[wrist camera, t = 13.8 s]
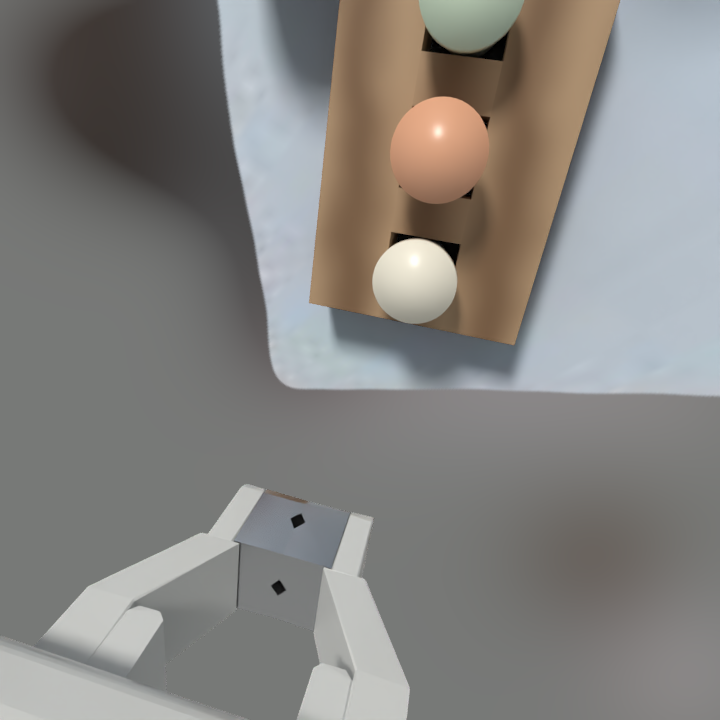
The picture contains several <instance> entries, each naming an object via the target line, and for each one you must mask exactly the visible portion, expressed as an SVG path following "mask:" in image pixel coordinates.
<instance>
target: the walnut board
mask: <svg viewBox="0 0 720 720" xmlns="http://www.w3.org/2000/svg"><path fill="white" fill-rule="evenodd" d="M619 3H620V0H524V3H523V6H522V8H521V11H520V13H519V15H518V17H517V19H516V21H515V23H514V24H513V26H512V27H511V28H510V30H509V31H508V35H507V39H506V44H505V48H504V52H503V57H502V61H497V60H489V59H481V58H474V57H466V56H458V55H450V54H442V53H434V52H430V50H431V44H432V36H431V35H430V33H429V32H428V30H427V28H426V26H425V24H424V21H423V18H422V15H421V11H420V7H419V0H340V2H339V12H338V22H337V32H336V42H335V51H334V61H333V71H332V81H331V91H330V101H329V111H328V121H327V131H326V141H325V151H324V161H323V170H322V180H321V190H320V200H319V210H318V220H317V230H316V240H315V250H314V260H313V270H312V280H311V289H310V299H309V303H312V304H317V305H322V306H327V307H331V308H336V309H341V310H346V311H351V312H356V313H360V314H365V315H370V316H375V317H380V318H385V319H389V320H394V321H398V320H396V319H394V318H392V317H391V316H390V315H388V314H387V313H386V312H385V311H384V310H383V309H382V308H381V307H380V305H379V303H378V302H377V300H376V298H375V295H374V292H373V285H372V279H373V273H374V269H375V266H376V264H377V262H378V260H379V259H380V258H381V256H382V255H383V254H384V253H385V252H386V251H387V250H388V249H389V248H390V247H391V246H393V245H394V244H396V243H397V239H398V234H399V233H401V234H406V235H412V236H417V237H423V238H428V239H434V240H440V241H445V242H451V243H456V244H459V248H458V252H457V257H456V261H455V267H456V271H457V288H456V293H455V296H454V299H453V301H452V303H451V304H450V306H449V307H448V308H447V310H446V311H445V312H444V313H443V314H442V315H440V316H439V317H437V318H435V319H433V320H431V321H429V322H425V323H420V324H413V325H418V326H423V327H428V328H433V329H438V330H442V331H447V332H452V333H457V334H462V335H467V336H471V337H476V338H481V339H486V340H491V341H496V342H500V343H505V344H510V345H515V342H516V338H517V335H518V332H519V329H520V325H521V322H522V319H523V315H524V312H525V309H526V306H527V302H528V299H529V296H530V293H531V289H532V286H533V283H534V280H535V276H536V273H537V270H538V267H539V263H540V260H541V257H542V254H543V250H544V247H545V244H546V241H547V237H548V234H549V231H550V227H551V224H552V221H553V218H554V214H555V211H556V208H557V205H558V201H559V198H560V195H561V192H562V188H563V185H564V182H565V179H566V175H567V172H568V169H569V166H570V162H571V159H572V156H573V153H574V149H575V146H576V143H577V140H578V136H579V133H580V130H581V126H582V123H583V120H584V117H585V113H586V110H587V107H588V104H589V100H590V97H591V94H592V91H593V87H594V84H595V81H596V78H597V74H598V71H599V68H600V65H601V61H602V58H603V55H604V52H605V48H606V45H607V42H608V38H609V35H610V32H611V29H612V25H613V22H614V19H615V16H616V12H617V9H618V6H619ZM434 97H452V98H456V99H459V100H462V101H464V102H465V103H467V104H469V105H470V106H471V107H472V108H474V109H475V111H476V112H477V113H478V114H479V115H480V117H481V118H482V120H483V122H484V123H487V126H486V129H487V132H488V137H489V156H488V161H487V164H486V167H485V170H484V172H483V174H482V176H481V177H480V179H479V181H478V182H477V183H476V185H475V186H474V187H473V188H472V192H471V195H467V194H465V195H463V196H462V197H460V198H458V199H456V200H454V201H451V202H448V203H442V204H430V203H425V202H422V201H419V200H417V199H415V198H413V197H412V196H410V195H409V194H408V193H406V192H405V191H404V190H403V189H402V187H401V186H400V185H399V183H398V181H397V180H396V178H395V176H394V173H393V170H392V166H391V160H390V148H391V142H392V137H393V134H394V132H395V129H396V127H397V125H398V124H399V122H400V120H401V119H402V118H403V116H404V115H405V114H406V113H407V112H408V111H409V110H410V109H411V108H413V107H414V106H415V105H417V104H418V103H420V102H422V101H424V100H427V99H430V98H434ZM399 322H401V321H399ZM409 324H410V323H409Z"/></svg>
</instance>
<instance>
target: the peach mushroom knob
mask: <svg viewBox="0 0 720 720" xmlns="http://www.w3.org/2000/svg"><path fill="white" fill-rule="evenodd" d="M488 156H489V137H488V132H487V129H486V126H485V124H484V122H483V120H482V118H481V117H480V115H479V114H478V113H477V112H476V111H475V109H474V108H472V107H471V106H470V105H469V104H467V103H465V102H464V101H462V100H459V99H456V98H452V97H434V98H430V99H427V100H424V101H422V102H420V103H418V104H417V105H415V106H414V107H413V108H411V109H410V110H409V111H408V112H407V113H406V114H405V115H404V116H403V118H402V119H401V120H400V122H399V124H398V125H397V127H396V129H395V132H394V134H393V137H392V142H391V148H390V160H391V166H392V170H393V173H394V176H395V178H396V180H397V181H398V183H399V185H400V186H401V187H402V189H403V190H404V191H405V192H406V193H408V194H409V195H410V196H412V197H413V198H415V199H417V200H419V201H422V202H425V203H430V204H442V203H448V202H451V201H454V200H456V199H458V198H460V197H462V196H463V195H465V194H466V193H467V192H469V191H470V190H471V189H472V188H473V187H474V186H475V185H476V183H477V182H478V181H479V179H480V177H481V176H482V174H483V172H484V170H485V167H486V164H487V161H488Z"/></svg>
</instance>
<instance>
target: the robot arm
mask: <svg viewBox="0 0 720 720" xmlns="http://www.w3.org/2000/svg"><path fill="white" fill-rule="evenodd" d="M373 520H374V519H373V517H369V516H365V515H361V514H357V513H353V512H352V513H351V512H348V511H344V510H340V509H336V508H332V507H328V506H325V505H320V504H317V503H313V502H308V501H305V500H302V499H298V498H295V497H291V496H288V495H285V494H281V493H278V492H274V491H271V490H268V489H267V490H265V489H262V488H259V487H255V486H252V485H249V484H245V485H244V486H243V487H241V488H240V490H239V491H238V492H237V494H236V495H235V496H234V498H233V499H232V501H231V502H230V504H229V505H228V506H227V508H226V509H225V511H224V512H223V514H222V515H221V516H220V518H219V519H218V521H217V522H216V524H215V525H214V526H213V528H212V529H211V530H210V532H209V533H208V534H205V533H199V534H197V535H195V536H193V537H191V538H189V539H187V540H185V541H183V542H181V543H178V544H177V545H174V546H172V547H170V548H168V549H166V550H164V551H162V552H160V553H157V554H155V555H153V556H151V557H149V558H147V559H145V560H143V561H141V562H138V563H136V564H134V565H132V566H130V567H128V568H126V569H124V570H122V571H120V572H117V573H115V574H113V575H111V576H109V577H107V578H105V579H103V580H101V581H99V582H97V583H94V584H92V585H90V586H88V587H87V588H86V589H85V590H84V592H83V593H82V594H81V595H80V596H79V597H78V598H77V599H76V600H75V602H74V603H73V604H72V605H71V606H70V607H69V608H68V609H67V610H66V612H65V613H64V614H63V615H62V616H61V617H60V618H59V619H58V620H57V621H56V622H55V624H54V625H53V626H52V627H51V628H50V629H49V630H48V631H47V632H46V634H45V635H44V636H43V637H42V638H41V639H40V640H39V641H38V642H37V643H36V645H35V646H34V647H32V646H29V645H27V644H24V643H21V642H18V641H15V640H12V639H9V638H6V637H3V636H0V720H248V719H245V718H242V717H239V716H237V715H234V714H230V713H228V712H224V711H222V710H218V709H216V708H213V707H210V706H207V705H204V704H201V703H198V702H195V701H192V700H189V699H186V698H183V697H180V696H177V695H174V694H171V693H168V692H167V691H166V690H167V689H166V668H165V665H166V664H167V663H168V662H170V661H171V660H172V659H174V658H175V657H176V656H177V655H179V654H180V653H182V652H183V651H184V650H186V649H187V648H188V647H189V646H191V645H192V644H193V643H195V642H196V641H197V640H199V639H200V638H201V637H202V636H204V635H205V634H206V633H208V632H209V631H210V630H212V629H213V628H214V627H216V626H217V625H218V624H219V623H221V622H222V621H223V620H225V619H226V618H227V617H229V616H230V615H231V614H232V613H234V612H235V611H236V608H238V609H242V610H246V611H250V612H253V613H257V614H260V615H264V616H268V617H272V618H275V619H278V620H281V621H284V622H287V623H290V624H293V625H296V626H299V627H302V628H305V629H308V630H311V631H314V638H315V642H316V647H317V652H318V657H319V661H320V665H318V666H316V667H314V668H313V671H312V674H311V677H310V680H309V683H308V687H307V690H306V693H305V696H304V699H303V702H302V705H301V708H300V711H299V715H298V718H297V720H406V719H407V710H408V700H409V691H410V688H409V685H408V683H407V680H406V678H405V675H404V673H403V671H402V668H401V666H400V663H399V661H398V658H397V656H396V653H395V651H394V648H393V646H392V644H391V641H390V639H389V636H388V634H387V631H386V629H385V626H384V624H383V622H382V619H381V616H380V614H379V612H378V609H377V607H376V604H375V602H374V599H373V597H372V594H371V592H370V590H369V587H368V585H367V582H366V580H365V579H363V578H362V574H363V570H364V565H365V560H366V555H367V550H368V546H369V541H370V536H371V531H372V526H373Z"/></svg>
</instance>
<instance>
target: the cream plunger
mask: <svg viewBox="0 0 720 720" xmlns="http://www.w3.org/2000/svg"><path fill="white" fill-rule="evenodd" d="M372 285H373V292H374V295H375V298H376V300H377V302H378V303H379V305H380V307H381V308H382V309H383V310H384V311H385V312H386V313H387V314H388V315H390V316H391V317H392V318H394V319H396V320H398V321H401V322H404V323H410V324H420V323H425V322H429V321H431V320H433V319H435V318H437V317H439V316H440V315H442V314H443V313H444V312H445V311H446V310H447V308H448V307H449V306H450V304H451V303H452V301H453V299H454V296H455V293H456V288H457V271H456V267H455V264H454V262H453V260H452V258H451V257H450V255H449V254H448V253H447V251H446V249H445V247H444V246H443V245H442V244H441V243H440V242H439V241H438V240H434V239H428V238H423V237H417V238H411V239H406V240H403V241H400V242H398V243H396V244H394V245H393V246H391V247H390V248H389V249H388V250H387V251H386V252H385V253H384V254H383V255H382V256H381V258H380V259H379V260H378V262H377V264H376V266H375V269H374V273H373V279H372Z"/></svg>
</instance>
